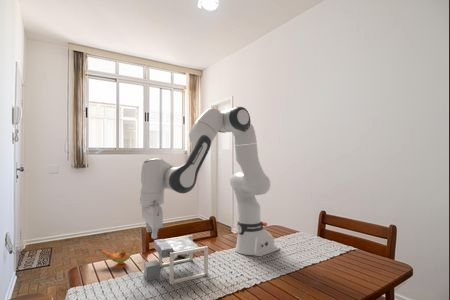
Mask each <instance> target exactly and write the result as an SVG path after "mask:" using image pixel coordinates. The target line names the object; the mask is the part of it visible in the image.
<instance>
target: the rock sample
mask: <svg viewBox="0 0 450 300" xmlns="http://www.w3.org/2000/svg"><path fill="white" fill-rule="evenodd" d="M176 256H177V257H178V258H180V257H182V258H184V259H187V258H189V253H187V254H182V255H176ZM193 256H195V255H194V253H193Z"/></svg>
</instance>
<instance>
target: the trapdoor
mask: <svg viewBox="0 0 450 300" xmlns="http://www.w3.org/2000/svg"><path fill="white" fill-rule="evenodd" d="M164 239H165V238H161V239H158V238H157V239H153V248H154V249H155V251H156V252H157V254H158V256H159V255H160V256H161V258H162V259H165V258H170V253H171V252H176V251H182V250H187V249H193V248H198V247H200V246H199V245H198V244H196V242H194V241H191V240H190V239H189V238H188V237H184V238H178V239H171V240H164Z"/></svg>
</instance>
